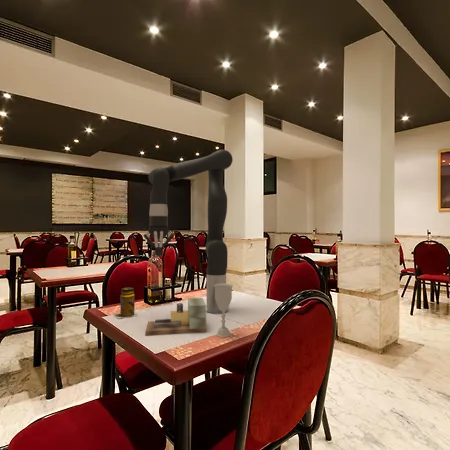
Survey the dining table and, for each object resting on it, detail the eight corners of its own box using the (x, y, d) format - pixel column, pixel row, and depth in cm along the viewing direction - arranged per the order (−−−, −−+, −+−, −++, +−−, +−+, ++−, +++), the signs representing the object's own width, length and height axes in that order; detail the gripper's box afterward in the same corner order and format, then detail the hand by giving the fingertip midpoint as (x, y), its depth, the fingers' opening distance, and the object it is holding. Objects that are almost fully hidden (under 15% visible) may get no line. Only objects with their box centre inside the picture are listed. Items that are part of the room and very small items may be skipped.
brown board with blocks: (202, 322, 127) (202, 297, 127) (205, 332, 115) (205, 305, 115) (147, 325, 123) (147, 300, 123) (145, 335, 111) (145, 307, 111)
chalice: (225, 330, 117) (225, 282, 117) (237, 335, 111) (237, 285, 112) (209, 334, 112) (209, 285, 112) (221, 339, 107) (221, 287, 107)
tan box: (196, 322, 122) (196, 302, 122) (197, 324, 119) (196, 304, 119) (170, 323, 120) (170, 303, 120) (170, 325, 117) (170, 305, 117)
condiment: (137, 316, 136) (137, 288, 136) (117, 319, 131) (117, 291, 132) (132, 312, 142) (132, 286, 142) (113, 315, 138) (113, 288, 138)
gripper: (174, 215, 135) (174, 255, 135) (143, 215, 132) (143, 255, 132) (174, 215, 127) (174, 256, 127) (141, 214, 125) (141, 257, 125)
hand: (158, 256), depth 130 cm, fingers closed
